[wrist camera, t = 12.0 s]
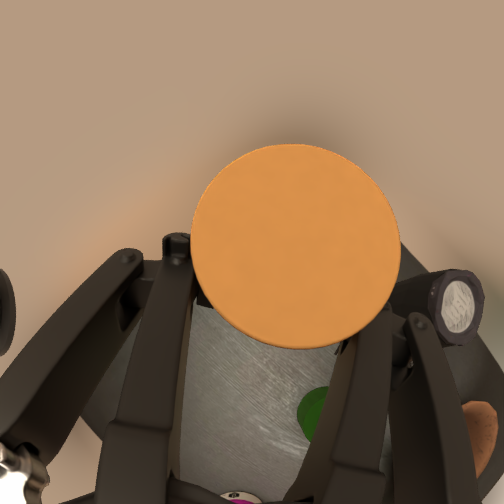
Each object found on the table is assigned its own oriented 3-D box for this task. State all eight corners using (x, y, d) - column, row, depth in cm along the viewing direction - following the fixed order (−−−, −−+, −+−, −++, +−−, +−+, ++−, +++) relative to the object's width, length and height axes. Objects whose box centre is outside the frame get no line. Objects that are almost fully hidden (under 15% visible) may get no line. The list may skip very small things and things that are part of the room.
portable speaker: (393, 353, 37) (475, 362, 18) (347, 329, 39) (418, 328, 20) (413, 305, 39) (496, 287, 20) (370, 280, 41) (444, 245, 22)
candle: (290, 397, 36) (301, 418, 26) (341, 378, 37) (366, 391, 27) (305, 441, 34) (318, 470, 24) (354, 421, 35) (379, 443, 25)
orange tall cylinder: (233, 333, 18) (188, 352, 5) (232, 263, 19) (195, 145, 6) (305, 331, 18) (411, 335, 5) (302, 261, 19) (380, 148, 6)
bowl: (423, 496, 28) (449, 517, 18) (346, 482, 31) (367, 514, 21) (478, 406, 33) (513, 414, 23) (414, 376, 36) (454, 384, 26)
